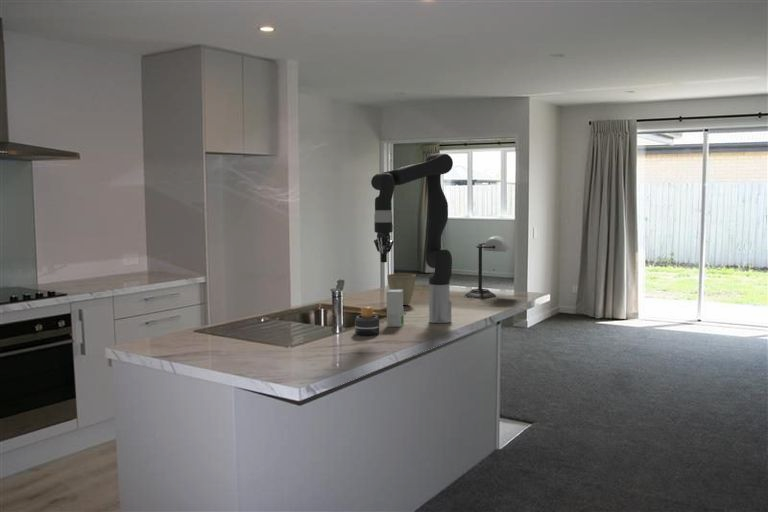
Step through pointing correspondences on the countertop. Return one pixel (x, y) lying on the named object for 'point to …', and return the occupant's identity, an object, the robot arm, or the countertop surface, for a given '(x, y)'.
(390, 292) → the skincare box
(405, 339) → the countertop surface
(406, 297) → the plant pot
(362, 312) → the wooden block
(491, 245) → the lamp
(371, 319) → the barrel
